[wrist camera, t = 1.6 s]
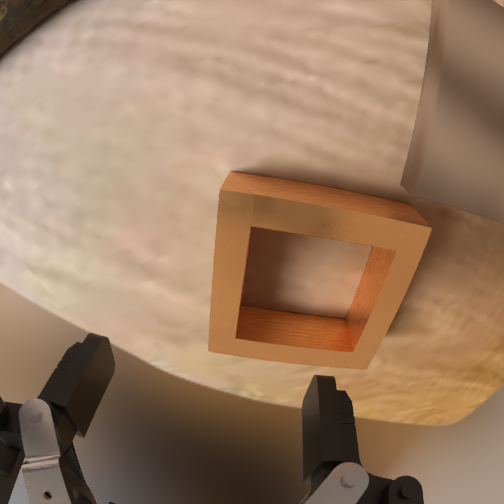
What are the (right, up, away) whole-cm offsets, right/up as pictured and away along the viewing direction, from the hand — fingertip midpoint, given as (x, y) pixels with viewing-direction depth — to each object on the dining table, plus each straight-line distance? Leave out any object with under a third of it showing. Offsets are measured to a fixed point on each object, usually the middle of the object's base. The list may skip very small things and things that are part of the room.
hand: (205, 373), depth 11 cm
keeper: (+16, +12, +1) cm, 21 cm away
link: (+5, +4, +7) cm, 9 cm away
